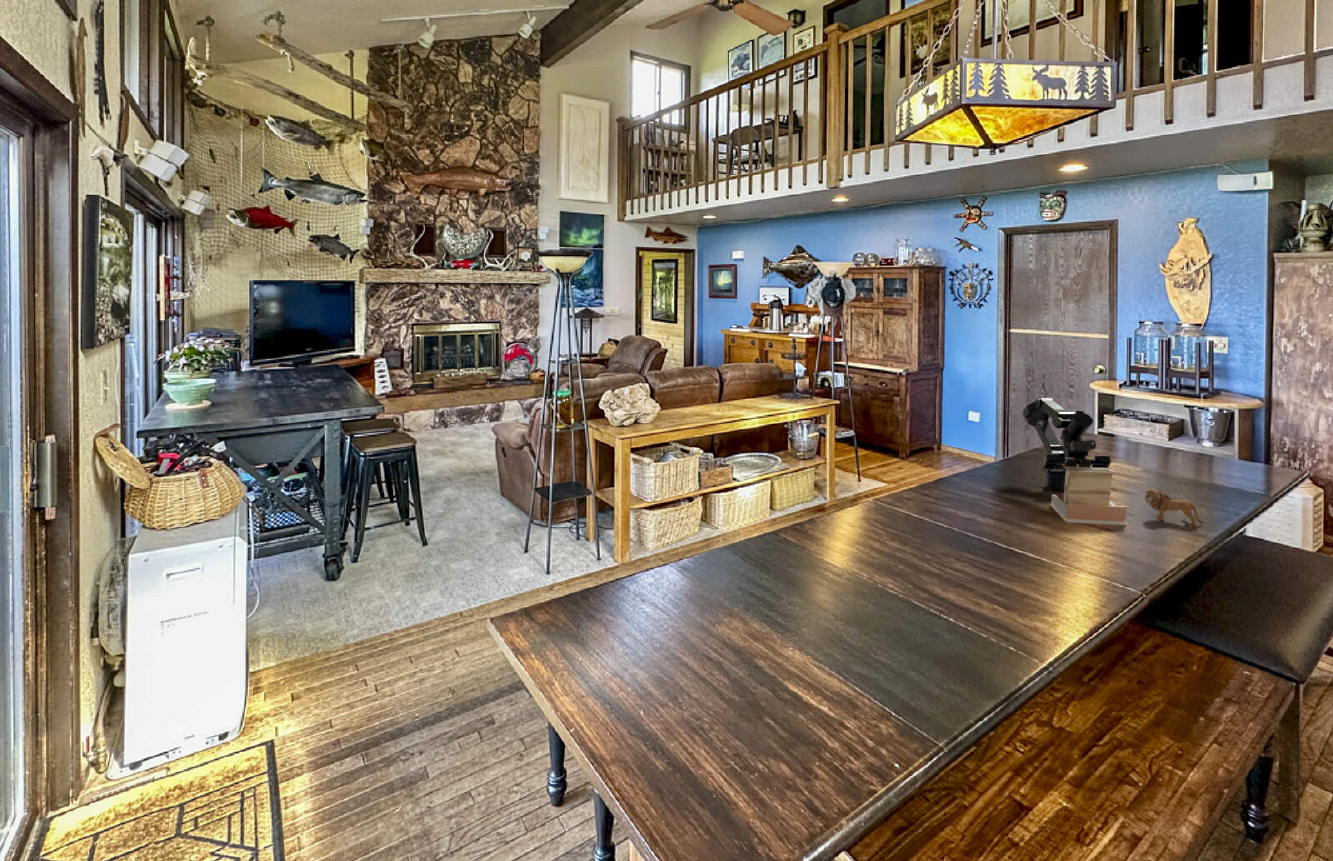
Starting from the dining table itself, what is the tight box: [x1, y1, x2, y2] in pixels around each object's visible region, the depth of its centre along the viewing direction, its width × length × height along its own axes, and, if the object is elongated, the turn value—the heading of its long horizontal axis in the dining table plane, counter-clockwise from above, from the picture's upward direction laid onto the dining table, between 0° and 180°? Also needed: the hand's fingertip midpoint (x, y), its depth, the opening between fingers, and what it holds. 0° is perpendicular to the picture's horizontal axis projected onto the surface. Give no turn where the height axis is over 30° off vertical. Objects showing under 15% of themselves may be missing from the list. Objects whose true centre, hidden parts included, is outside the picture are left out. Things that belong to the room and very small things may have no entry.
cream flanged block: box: [1063, 466, 1114, 505], centre depth 216 cm, size 6×11×13 cm, turn 75°
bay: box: [1050, 494, 1128, 526], centre depth 216 cm, size 19×16×6 cm
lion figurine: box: [1144, 489, 1204, 526], centre depth 207 cm, size 15×5×9 cm, turn 52°
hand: (1080, 484), depth 222 cm, fingers closed
